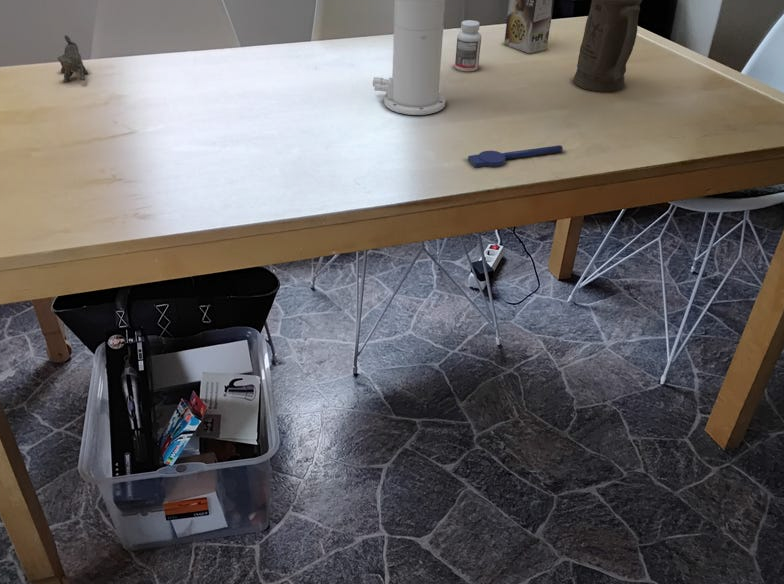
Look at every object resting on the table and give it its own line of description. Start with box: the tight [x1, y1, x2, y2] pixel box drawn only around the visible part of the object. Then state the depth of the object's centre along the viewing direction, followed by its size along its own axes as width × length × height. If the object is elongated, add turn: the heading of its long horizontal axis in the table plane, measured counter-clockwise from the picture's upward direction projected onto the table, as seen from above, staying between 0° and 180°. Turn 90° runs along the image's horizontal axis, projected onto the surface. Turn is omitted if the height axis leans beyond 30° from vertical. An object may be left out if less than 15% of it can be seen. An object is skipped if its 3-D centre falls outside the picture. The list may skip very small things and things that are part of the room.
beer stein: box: [573, 0, 643, 93], centre depth 151 cm, size 15×11×20 cm
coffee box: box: [503, 0, 555, 54], centre depth 173 cm, size 9×6×16 cm
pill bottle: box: [454, 19, 482, 72], centre depth 163 cm, size 5×5×10 cm
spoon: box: [467, 144, 564, 168], centre depth 130 cm, size 18×5×1 cm, turn 108°
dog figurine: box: [57, 34, 89, 83], centre depth 156 cm, size 12×6×7 cm, turn 16°
